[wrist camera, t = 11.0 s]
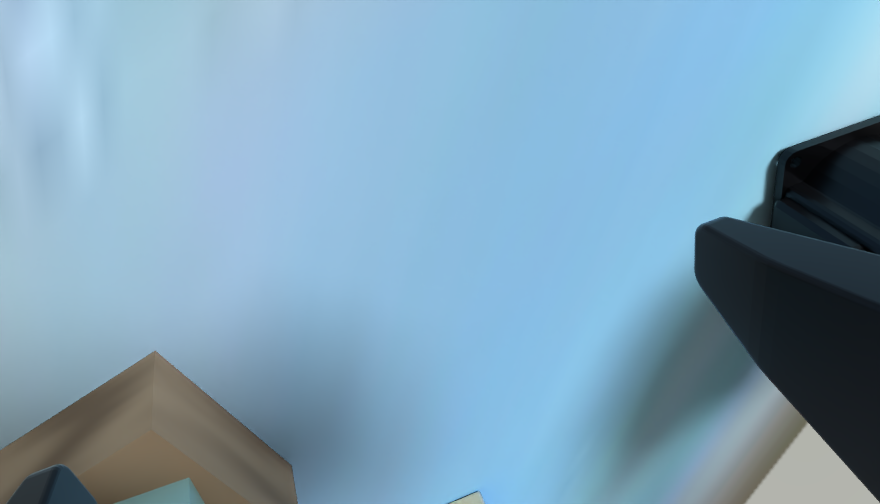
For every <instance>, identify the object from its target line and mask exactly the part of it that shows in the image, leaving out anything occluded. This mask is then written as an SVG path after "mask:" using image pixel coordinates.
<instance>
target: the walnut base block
mask: <svg viewBox="0 0 880 504" xmlns="http://www.w3.org/2000/svg"><path fill="white" fill-rule="evenodd" d="M57 464H63V465H65V466H67V467H68V468H69V469H70V470H71V471H72V472H73V473H74V474H75V476H76V477H77V478H78V479H79V480H80V482H81V483H82V484H83V485H84V486H85V488H86V489H87V490H88V491H89V492H90V494H91V495H92V496H93V497H94V498H95V500H96V502H97V503H98V504H114V503H117V502H120V501H123V500H126V499H128V498H131V497H134V496H137V495H140V494H143V493H146V492H148V491H151V490H154V489H157V488H160V487H163V486H166V485H168V484H171V483H174V482H177V481H180V480H183V479H186V478H188V477H189V478H190V479H191V481H192V483H193V484H194V486H195V488H196V490H197V491H198V493H199V495H200V496H201V498H202V500H203V501H204V503H205V504H298V502H297V496H296V490H295V484H294V478H293V472H292V466H291V465H290V464H289V463H288V462H287V461H286V460H284V459H283V458H282V457H281V456H280V455H278V454H277V453H276V452H275V451H274V450H273V449H271V448H270V447H269V446H268V445H267V444H265V443H264V442H263V441H262V440H261V439H259V438H258V437H257V436H256V435H255V434H254V433H252V432H251V431H250V430H249V429H248V428H246V427H245V426H244V425H243V424H242V423H240V422H239V421H238V420H237V419H236V418H235V417H233V416H232V415H231V414H230V413H229V412H227V411H226V410H225V409H224V408H223V407H221V406H220V405H219V404H218V403H217V402H216V401H214V400H213V399H212V398H211V397H210V396H208V395H207V394H206V393H205V392H204V391H202V390H201V389H200V388H199V387H198V386H197V385H195V384H194V383H193V382H192V381H191V380H189V379H188V378H187V377H186V376H185V375H183V374H182V373H181V372H180V371H179V370H178V369H176V368H175V367H174V366H173V365H172V364H170V363H169V362H168V361H167V360H166V359H164V358H163V357H162V356H161V355H160V354H159V353H157V352H156V351H154V352H152V353H151V354H149V355H148V356H146V357H145V358H143V359H142V360H140V361H138V362H137V363H135V364H134V365H132V366H131V367H129V368H128V369H126V370H124V371H123V372H121V373H120V374H118V375H117V376H115V377H114V378H112V379H110V380H109V381H107V382H106V383H104V384H103V385H101V386H100V387H98V388H96V389H95V390H93V391H92V392H90V393H89V394H87V395H86V396H84V397H82V398H81V399H79V400H78V401H76V402H75V403H73V404H72V405H70V406H68V407H67V408H65V409H64V410H62V411H61V412H59V413H58V414H56V415H55V416H53V417H51V418H50V419H48V420H47V421H45V422H44V423H42V424H41V425H39V426H37V427H36V428H34V429H33V430H31V431H30V432H28V433H27V434H25V435H23V436H22V437H20V438H19V439H17V440H16V441H14V442H13V443H11V444H9V445H8V446H6V447H5V448H3V449H2V450H0V504H6V503H7V502H8V500H9V499H10V498H11V496H12V495H13V494H14V492H15V491H16V490H17V488H18V487H19V486H20V484H21V483H22V482H23V480H24V479H25V478H26V477H27V476H29V475H30V474H32V473H35V472H37V471H40V470H43V469H45V468H48V467H51V466H53V465H57Z"/></svg>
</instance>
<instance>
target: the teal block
mask: <svg viewBox="0 0 880 504" xmlns="http://www.w3.org/2000/svg"><path fill="white" fill-rule="evenodd" d="M114 504H205V503H204V501H203V500H202V498H201V496H200V495H199V493H198V491H197V490H196V488H195V486H194V484H193V483H192V481H191V479H190V478H189V477H188V478H186V479H183V480H180V481H177V482H174V483H171V484H168V485H166V486H163V487H160V488H157V489H154V490H151V491H148V492H146V493H143V494H140V495H137V496H134V497H131V498H128V499H126V500H123V501H120V502H117V503H114Z"/></svg>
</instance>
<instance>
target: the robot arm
mask: <svg viewBox="0 0 880 504" xmlns="http://www.w3.org/2000/svg"><path fill="white" fill-rule="evenodd" d="M694 270H695V276H696V279H697V281H698V283H699V285H700V287H701V288H702V290H703V291H704V292H705V294H706V295H707V297H708V298H709V299H710V301H711V302H712V304H713V305H714V306H715V308H716V309H717V311H718V312H719V313H720V315H721V316H722V318H723V319H724V320H725V322H726V323H727V325H728V326H729V327H730V329H731V330H732V332H733V333H734V334H735V336H736V337H737V339H738V340H739V341H740V343H741V344H742V346H743V347H744V348H745V350H746V351H747V353H748V354H749V355H750V356H751V358H752V359H753V360H754V362H755V363H756V364H757V366H758V367H759V368H760V369H761V370H762V371H763V373H764V374H765V375H766V376H767V377H768V378H769V380H770V381H771V382H772V383H773V384H774V385H775V386H776V387H777V388H778V390H779V391H780V392H781V393H782V394H783V395H784V396H785V397H786V398H787V400H788V401H789V402H790V403H791V404H792V405H793V406H794V407H795V408H796V410H797V411H798V412H799V413H800V414H801V415H802V416H803V417H804V419H805V420H806V421H807V422H808V423H809V424H810V425H811V426H812V427H813V429H814V430H815V431H816V432H817V433H818V434H819V435H820V436H821V437H822V439H823V440H824V441H825V442H826V443H827V444H828V445H829V446H830V447H831V449H832V450H833V451H834V452H835V453H836V454H837V455H838V456H839V458H841V460H842V461H843V462H844V463H845V464H846V465H847V466H848V468H849V469H850V470H851V471H852V472H853V473H854V474H855V475H856V476H857V478H858V479H859V480H860V481H861V482H862V483H863V484H864V485H865V486H866V488H867V489H868V490H869V491H870V492H871V493H872V494H873V495H874V497H875V498H876V499H877V500H878V501H879V502H880V116H877V117H874V118H871V119H868V120H865V121H863V122H860V123H857V124H854V125H851V126H848V127H845V128H843V129H840V130H837V131H834V132H831V133H828V134H826V135H823V136H820V137H817V138H814V139H811V140H809V141H806V142H803V143H800V144H797V145H794V146H791V147H789V148H787V149H786V150H784V151H783V152H782V154H781V155H780V157H779V159H778V164H777V173H776V183H775V192H774V201H773V210H772V220H771V228H770V227H766V226H762V225H758V224H754V223H750V222H746V221H742V220H738V219H734V218H729V217H720V218H717V219H714V220H712V221H709V222H706V223H703V224H701V225H700V226H699V227H698V228H697V230H696V232H695V263H694ZM6 504H98V503H97V502H96V500H95V498H94V497H93V496H92V495H91V494H90V492H89V491H88V490H87V489H86V488H85V486H84V485H83V484H82V483H81V482H80V480H79V479H78V478H77V477H76V476H75V474H74V473H73V472H72V471H71V470H70V469H69V468H68V467H67V466H65V465H63V464H57V465H53V466H51V467H48V468H45V469H43V470H40V471H37V472H35V473H32V474H30V475H29V476H27V477H26V478H25V479H24V480H23V482H22V483H21V484H20V486H19V487H18V488H17V490H16V491H15V492H14V494H13V495H12V496H11V498H10V499H9V500H8V502H7V503H6Z"/></svg>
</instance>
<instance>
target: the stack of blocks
mask: <svg viewBox="0 0 880 504" xmlns="http://www.w3.org/2000/svg"><path fill="white" fill-rule="evenodd" d="M450 504H485V502H484V500H483V498H482V495H481V493H480V491H478V492H476V493H473V494H471V495H468V496H466V497H464V498H462V499H459V500H457V501H454V502H452V503H450Z"/></svg>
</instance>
